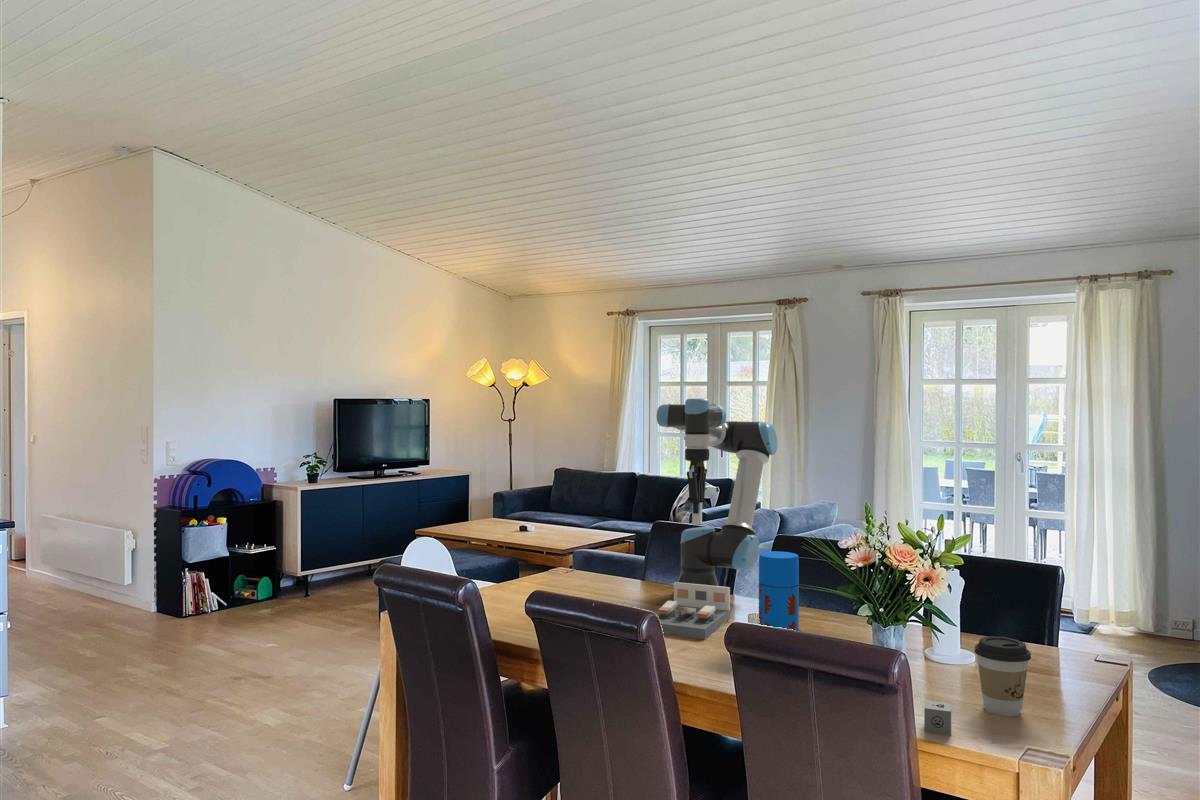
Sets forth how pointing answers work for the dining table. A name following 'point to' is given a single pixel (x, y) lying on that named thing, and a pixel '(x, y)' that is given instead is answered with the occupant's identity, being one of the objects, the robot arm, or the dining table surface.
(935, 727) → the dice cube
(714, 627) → the switch unit
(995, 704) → the coffee cup
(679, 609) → the switch
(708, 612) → the switch
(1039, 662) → the dining table surface
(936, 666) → the dining table surface
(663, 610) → the switch
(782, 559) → the thermos
